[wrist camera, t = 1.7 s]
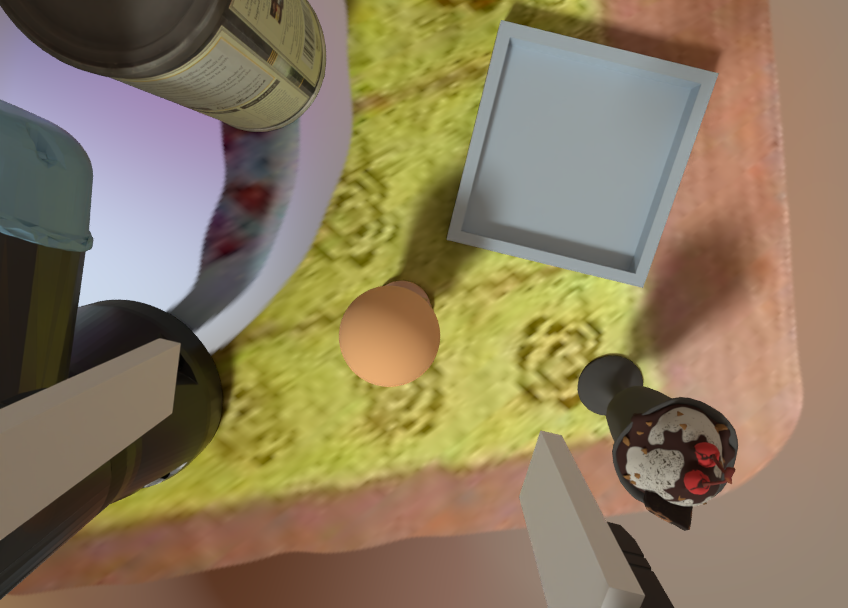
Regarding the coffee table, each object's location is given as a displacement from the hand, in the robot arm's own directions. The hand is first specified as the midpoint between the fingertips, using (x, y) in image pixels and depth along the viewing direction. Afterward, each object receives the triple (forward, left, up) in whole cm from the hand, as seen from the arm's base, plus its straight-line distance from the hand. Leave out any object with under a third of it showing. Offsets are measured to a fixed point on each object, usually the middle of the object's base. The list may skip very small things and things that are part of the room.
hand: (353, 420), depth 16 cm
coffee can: (-14, +15, -19) cm, 28 cm away
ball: (0, 0, -11) cm, 11 cm away
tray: (+9, +13, -18) cm, 24 cm away
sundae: (+17, -2, -19) cm, 25 cm away
